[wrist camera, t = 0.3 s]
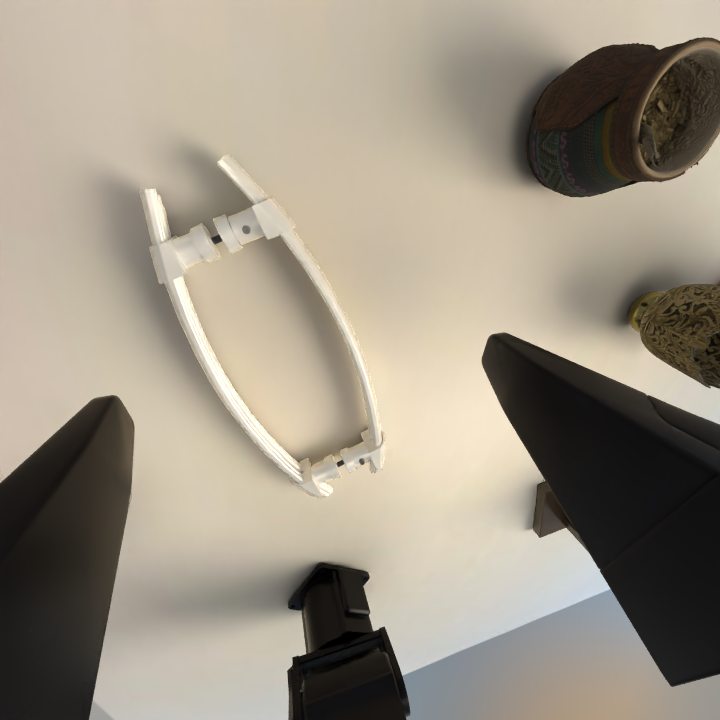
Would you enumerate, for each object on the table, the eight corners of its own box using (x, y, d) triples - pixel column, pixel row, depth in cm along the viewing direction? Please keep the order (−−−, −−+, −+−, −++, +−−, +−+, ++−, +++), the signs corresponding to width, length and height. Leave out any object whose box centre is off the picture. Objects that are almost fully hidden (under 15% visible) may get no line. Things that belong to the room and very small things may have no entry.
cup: (615, 276, 30) (726, 305, 23) (686, 260, 31) (811, 282, 24) (598, 355, 33) (690, 400, 26) (662, 337, 34) (765, 376, 28)
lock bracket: (532, 529, 43) (572, 579, 38) (537, 484, 40) (583, 532, 34) (601, 502, 45) (650, 546, 40) (613, 456, 41) (668, 498, 36)
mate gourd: (618, 144, 25) (816, 123, 16) (531, 222, 25) (676, 243, 17) (585, 34, 21) (817, -70, 12) (486, 129, 22) (638, 95, 13)
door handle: (274, 138, 19) (400, 450, 32) (100, 207, 19) (298, 499, 31) (278, 131, 17) (411, 471, 29) (78, 211, 16) (302, 524, 29)
